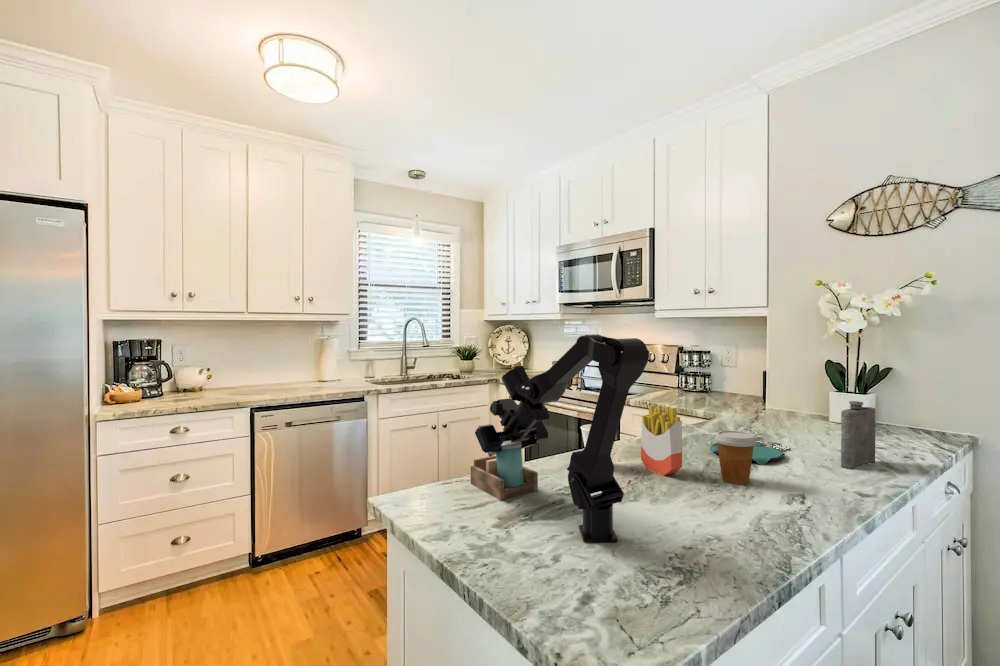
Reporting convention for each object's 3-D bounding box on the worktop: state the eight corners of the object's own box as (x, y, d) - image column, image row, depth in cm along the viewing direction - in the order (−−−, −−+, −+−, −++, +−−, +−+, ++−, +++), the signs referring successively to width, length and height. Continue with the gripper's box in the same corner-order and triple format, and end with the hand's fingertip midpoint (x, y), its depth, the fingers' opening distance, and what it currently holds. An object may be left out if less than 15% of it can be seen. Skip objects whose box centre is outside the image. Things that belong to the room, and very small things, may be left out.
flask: (835, 466, 133) (835, 402, 133) (862, 459, 139) (863, 398, 139) (850, 469, 130) (850, 404, 129) (877, 462, 136) (877, 400, 136)
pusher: (515, 478, 121) (515, 456, 121) (488, 484, 117) (488, 461, 117) (513, 477, 122) (512, 455, 122) (486, 483, 118) (486, 460, 118)
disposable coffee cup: (713, 483, 120) (713, 436, 120) (716, 472, 128) (716, 428, 128) (756, 489, 115) (756, 440, 115) (755, 477, 124) (755, 432, 124)
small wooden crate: (537, 490, 116) (537, 466, 116) (500, 500, 110) (500, 474, 110) (506, 475, 128) (505, 453, 128) (470, 483, 122) (470, 460, 122)
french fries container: (670, 478, 124) (669, 410, 123) (639, 468, 133) (639, 404, 133) (682, 476, 126) (682, 409, 125) (651, 465, 135) (651, 403, 135)
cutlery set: (698, 454, 147) (698, 447, 147) (744, 440, 165) (744, 434, 165) (766, 470, 131) (766, 461, 131) (808, 453, 150) (808, 445, 150)
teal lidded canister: (515, 488, 111) (511, 445, 112) (492, 486, 115) (488, 445, 116) (530, 481, 117) (526, 440, 118) (507, 480, 121) (504, 440, 121)
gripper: (541, 386, 120) (516, 422, 130) (478, 392, 110) (456, 431, 119) (561, 422, 114) (534, 457, 123) (497, 432, 103) (472, 469, 113)
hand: (500, 452), depth 120 cm, fingers open, 6 cm apart
